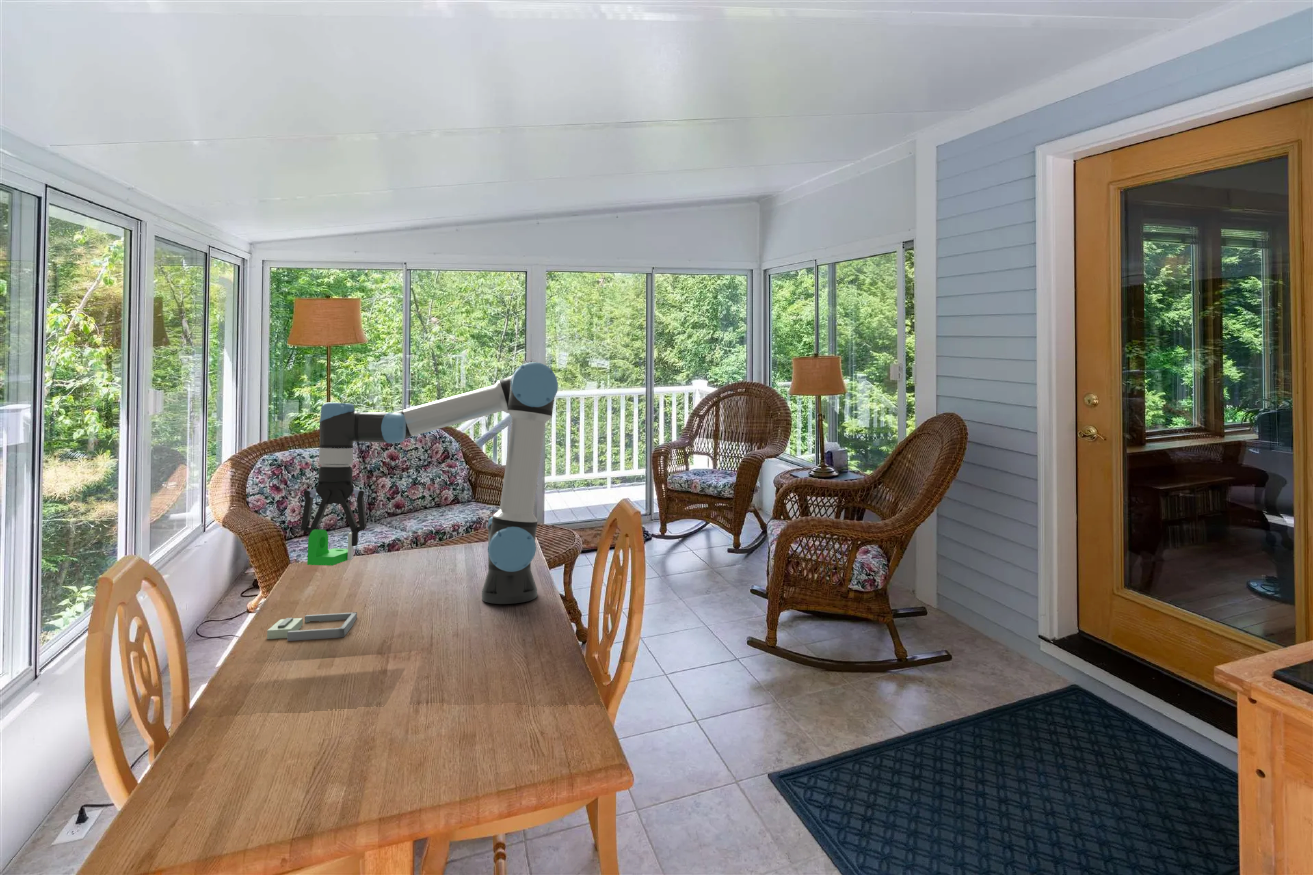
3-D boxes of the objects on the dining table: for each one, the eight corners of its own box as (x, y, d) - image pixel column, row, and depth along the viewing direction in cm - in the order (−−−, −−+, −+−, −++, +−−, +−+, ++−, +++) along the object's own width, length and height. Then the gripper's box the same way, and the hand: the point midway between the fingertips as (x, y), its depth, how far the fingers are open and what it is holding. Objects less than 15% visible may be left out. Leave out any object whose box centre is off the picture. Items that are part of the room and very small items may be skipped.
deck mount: (356, 619, 171) (356, 609, 171) (343, 637, 156) (343, 626, 156) (283, 624, 167) (283, 614, 167) (263, 642, 152) (263, 631, 152)
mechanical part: (332, 565, 156) (333, 531, 156) (307, 564, 156) (308, 530, 156) (356, 556, 168) (357, 525, 168) (332, 556, 168) (333, 524, 168)
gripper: (381, 465, 169) (379, 556, 169) (295, 464, 164) (293, 557, 164) (376, 466, 162) (374, 561, 161) (286, 465, 157) (283, 563, 157)
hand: (333, 559), depth 163 cm, fingers closed on mechanical part, 7 cm apart
